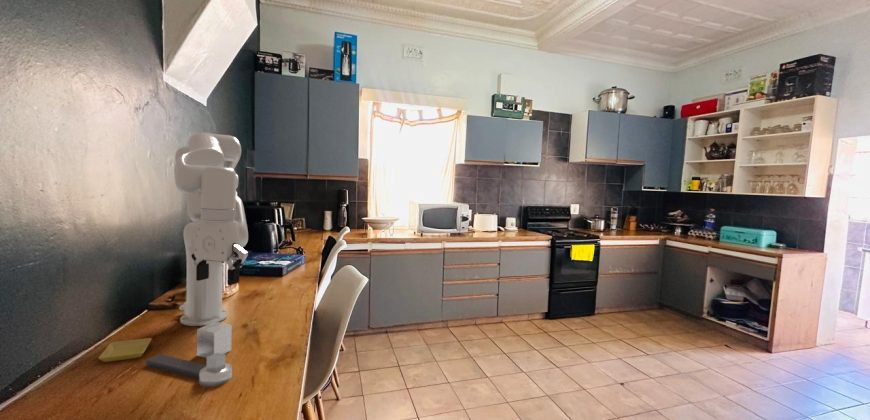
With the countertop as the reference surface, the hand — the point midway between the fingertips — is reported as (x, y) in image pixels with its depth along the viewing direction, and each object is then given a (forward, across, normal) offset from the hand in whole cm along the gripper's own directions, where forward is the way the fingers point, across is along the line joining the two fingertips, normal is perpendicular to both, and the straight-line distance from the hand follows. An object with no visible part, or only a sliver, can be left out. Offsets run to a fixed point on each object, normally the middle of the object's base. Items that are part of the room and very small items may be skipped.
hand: (217, 281), depth 92 cm
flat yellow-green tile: (+19, -20, -8) cm, 29 cm away
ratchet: (+19, +1, -9) cm, 21 cm away
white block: (+19, -1, 0) cm, 19 cm away
